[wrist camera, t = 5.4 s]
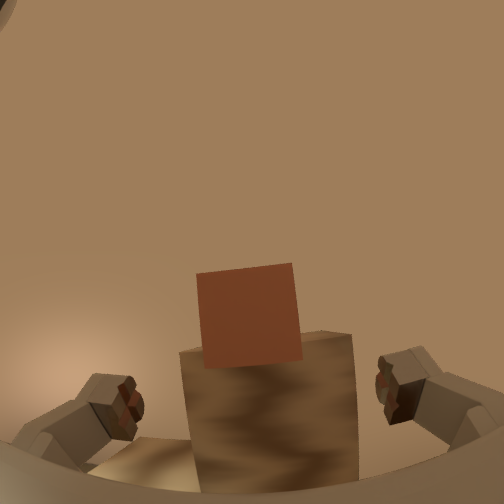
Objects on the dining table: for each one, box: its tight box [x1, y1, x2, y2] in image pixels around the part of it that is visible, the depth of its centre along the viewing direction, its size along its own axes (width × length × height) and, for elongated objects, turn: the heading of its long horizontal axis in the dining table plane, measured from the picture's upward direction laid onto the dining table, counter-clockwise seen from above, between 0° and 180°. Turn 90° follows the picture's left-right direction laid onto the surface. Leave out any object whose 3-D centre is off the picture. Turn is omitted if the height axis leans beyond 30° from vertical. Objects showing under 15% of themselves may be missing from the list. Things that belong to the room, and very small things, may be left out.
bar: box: [196, 263, 303, 369], centre depth 18 cm, size 3×18×3 cm, turn 175°
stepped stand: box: [87, 330, 359, 494], centre depth 19 cm, size 20×12×26 cm, turn 85°
